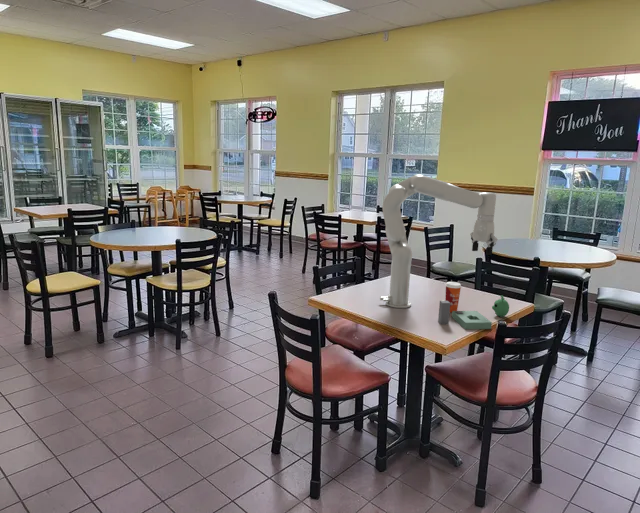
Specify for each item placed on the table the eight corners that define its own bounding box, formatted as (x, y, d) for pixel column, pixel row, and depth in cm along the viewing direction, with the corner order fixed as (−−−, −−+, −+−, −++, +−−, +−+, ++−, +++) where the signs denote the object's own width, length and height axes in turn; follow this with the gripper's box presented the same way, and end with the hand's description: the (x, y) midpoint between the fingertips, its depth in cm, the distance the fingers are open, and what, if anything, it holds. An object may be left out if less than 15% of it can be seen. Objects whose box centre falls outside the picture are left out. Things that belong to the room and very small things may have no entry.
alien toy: (490, 313, 232) (492, 293, 230) (507, 315, 230) (509, 295, 228) (491, 317, 226) (493, 297, 224) (508, 319, 224) (511, 299, 222)
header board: (464, 329, 209) (465, 321, 208) (451, 316, 225) (452, 310, 224) (491, 328, 210) (491, 321, 210) (476, 316, 226) (477, 310, 225)
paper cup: (450, 314, 229) (453, 286, 226) (439, 309, 235) (442, 282, 232) (462, 312, 232) (465, 284, 229) (451, 307, 239) (454, 280, 236)
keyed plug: (440, 324, 214) (442, 303, 212) (437, 320, 219) (439, 299, 217) (448, 324, 215) (450, 303, 213) (444, 320, 219) (446, 299, 217)
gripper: (467, 216, 236) (463, 249, 240) (492, 220, 221) (488, 256, 224) (479, 215, 239) (475, 249, 243) (504, 220, 224) (500, 256, 227)
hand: (481, 252), depth 234 cm, fingers open, 9 cm apart
